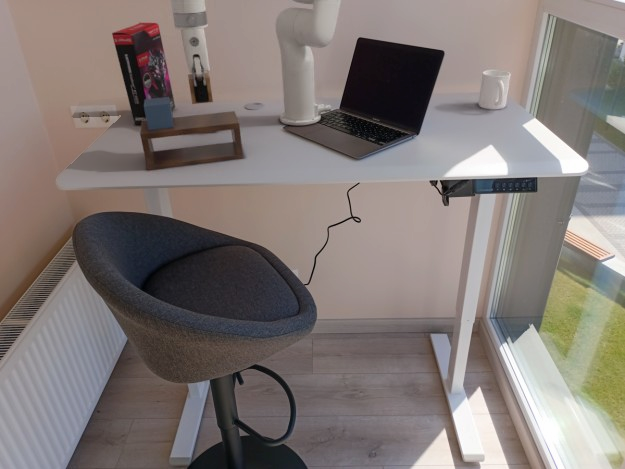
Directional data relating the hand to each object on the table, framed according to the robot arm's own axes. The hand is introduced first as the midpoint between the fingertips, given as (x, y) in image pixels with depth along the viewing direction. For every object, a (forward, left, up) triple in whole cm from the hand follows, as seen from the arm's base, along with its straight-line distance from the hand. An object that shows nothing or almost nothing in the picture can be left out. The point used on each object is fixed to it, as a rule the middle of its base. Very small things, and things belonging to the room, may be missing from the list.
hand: (201, 97), depth 126 cm
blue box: (+11, 0, -6) cm, 12 cm away
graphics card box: (+15, -38, -16) cm, 44 cm away
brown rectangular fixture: (+4, 0, -15) cm, 16 cm away
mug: (-89, -10, -16) cm, 91 cm away
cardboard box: (0, 0, -1) cm, 1 cm away
